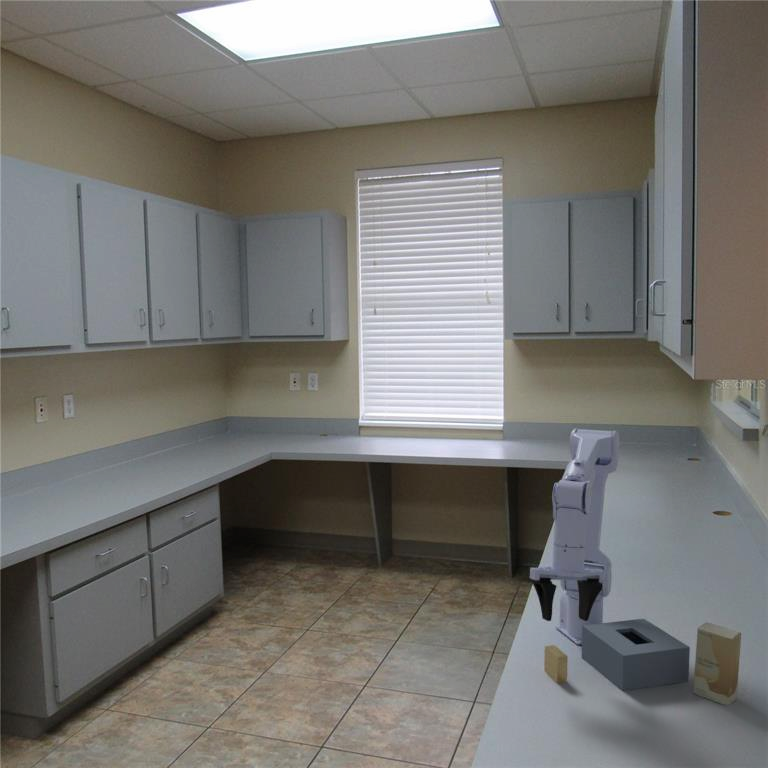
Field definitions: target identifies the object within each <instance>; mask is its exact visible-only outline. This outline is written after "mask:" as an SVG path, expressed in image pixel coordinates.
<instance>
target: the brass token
mask: <svg viewBox="0 0 768 768" xmlns="http://www.w3.org/2000/svg"><path fill="white" fill-rule="evenodd" d="M543 663H544V668H543V669H544V671H545V672H546V673H547V674H548V675H547V674H546V673H545V672H544V673H545V674H546V675H547V676H548V677H549V678H551V679H552V681H554V682H555V683H556V684H564V683H568V655H567V654H566V653H565V652H563V650H561V649H560V648H558V647H557V646H556V645H555V644H551V645H545V646H544V662H543Z"/></svg>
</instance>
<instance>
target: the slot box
mask: <svg viewBox="0 0 768 768" xmlns="http://www.w3.org/2000/svg"><path fill="white" fill-rule="evenodd" d="M690 650H691V647H690V646H689V645H687V644H685V643H684V642H682V641H681V640H679V639H677V638H676V637H675V636H674V635H673V636H672V635H671V634H669V633H668V632H666V631H664V630H663V629H661V628H660V627H658V626H656V625H655V624H653V623H652V622H650V621H648V620H647V619H645V618H638V619H628V620H619V621H609V622H603V623H600V624H592V625H583V626H582V644H581V658H582V659H583V660H584V661H585V662H587V663H588V664H589V665H590V666H591V667H593V668H594V669H595V670H596V671H598V673H600V674H601V675H602V676H603V677H604V678H606V679H607V680H609V681H610V682H611V683H612V684H613V685H615V686H616V687H617V688H618V689H619V690H621V691H629V690H637V689H643V688H650V687H651V688H652V687H658V686H665V685H672V684H679V683H686V682H689V680H690V676H689V675H690V654H691V653H690V652H691V651H690Z"/></svg>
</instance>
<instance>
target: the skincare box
mask: <svg viewBox="0 0 768 768" xmlns="http://www.w3.org/2000/svg"><path fill="white" fill-rule="evenodd" d="M696 634H697V635H696V645H695V646H696V648H695V661H694V678H693V691H692V692H693V694H696V695H697V696H700V697H702V698H706V699H709V700H711V701H714V702H716V703H718V704H722V705H724V706H726V707H727V706H729V705H730V704H732V703H733V702H734V701H735V700H736V699H737V697H738V696H737V695H738V685H739V684H738V683H739V671H740V669H739V668H740V654H741V641H742V632H741V631H737V630H734V629H730V628H728V627H725V626H721V625H717V624H714V623H712V622H705V623H703V624H702V625H700V626H699V627H698V628H697V633H696Z"/></svg>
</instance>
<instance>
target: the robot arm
mask: <svg viewBox="0 0 768 768" xmlns="http://www.w3.org/2000/svg"><path fill="white" fill-rule="evenodd" d="M620 442H621V441H620V434H619V433H618V431H617V430H600V429H599V430H595V429H581V428H580V429H579V428H573V430H572V431H571V433H570V436H569V452H570V455H571V459H572V460H571V461H569V463H568V464H567V465H566V467H565V470H564V473H563V475H562V477H561V479H560V480H559V481H558V482H554V485H553V489H552V494H551V495H552V496H551V499H552V500H551V501H552V518H553V520H554V527H553V529H554V530H553V549H552V565H551V566H543V567H541V566H540V567H529V568H530V569H529V579H531V582H532V585H533V587H534V590H535V592H536V595H537V597H538V600H539V601H538V602H539V604H540V606H539V607H540V609H541V610H540V612H541V617H542V619H543V620H545V621H547V622H551V621H552V617H553V603H554V598H555V594H556V590H557V585H556V584H554V583H553V581H560V587H561V588H562V590H563V592H562V593H561V596H560V599H559V624H556V625H555V628H556V629H557V630H558V631H559V632H561V633H562V634H563V635H564V636H566V637H567V638H569V640H571V641H572V642H573V643H574V644H576V645H582V626H583V625H592V624H600V623H604V622H603V621H604V619H603V618H604V598H607V597H608V596H609V595H610V593H611V589H612V574H613V573H612V562H611V559H610V557H608V556H607V555H606V554H605V553H604V552H603V551H602V550H601V549H600V547H601V546H600V545H601V535H602V522H603V513H604V502H605V489H606V484H607V479H608V477H609V474H611V473H612V474H613V472H616V471H617V467H619V466H618V465H619V458H620V457H619V456H620V455H619V454H620V445H621V444H620ZM552 580H553V581H552Z"/></svg>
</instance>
